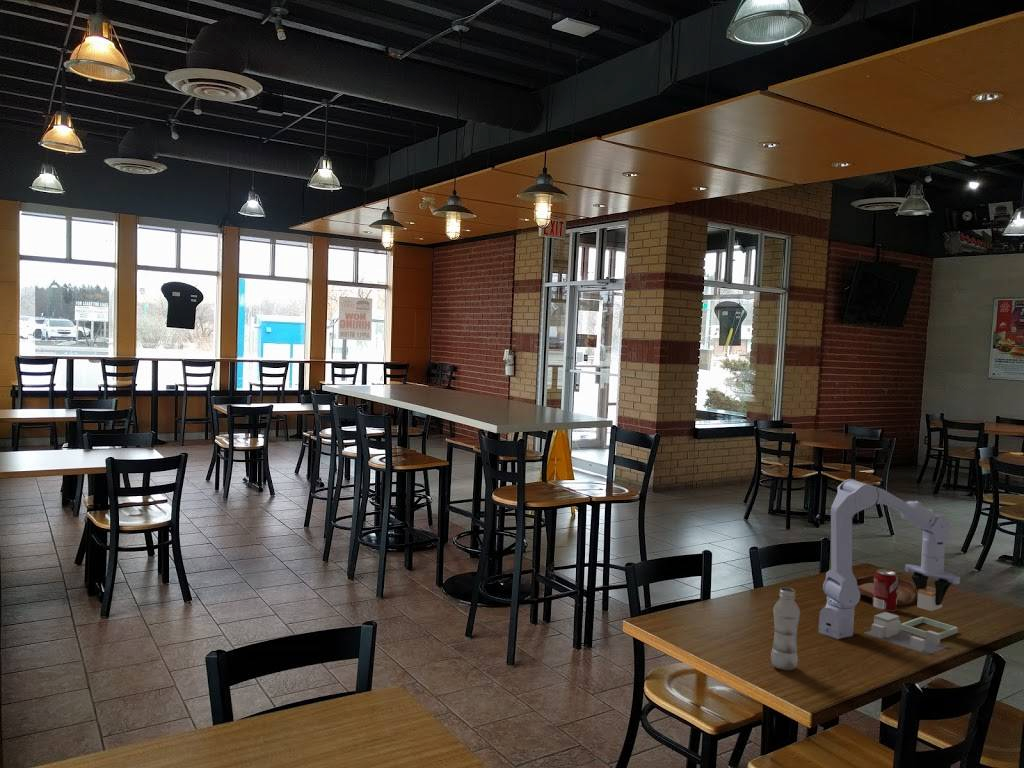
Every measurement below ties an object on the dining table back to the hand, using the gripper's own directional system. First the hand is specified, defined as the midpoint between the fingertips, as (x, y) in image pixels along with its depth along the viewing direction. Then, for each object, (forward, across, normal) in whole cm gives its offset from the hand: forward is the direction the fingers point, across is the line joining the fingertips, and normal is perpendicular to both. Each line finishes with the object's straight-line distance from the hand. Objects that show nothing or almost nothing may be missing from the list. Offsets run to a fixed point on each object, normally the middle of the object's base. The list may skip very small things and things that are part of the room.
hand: (930, 602), depth 217 cm
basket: (+10, +26, -21) cm, 35 cm away
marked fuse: (+1, 0, 0) cm, 1 cm away
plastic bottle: (+9, +7, +58) cm, 59 cm away
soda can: (+10, +18, -9) cm, 22 cm away
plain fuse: (+8, +6, +13) cm, 16 cm away
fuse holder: (+9, 0, +13) cm, 16 cm away
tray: (+9, 0, 0) cm, 9 cm away
